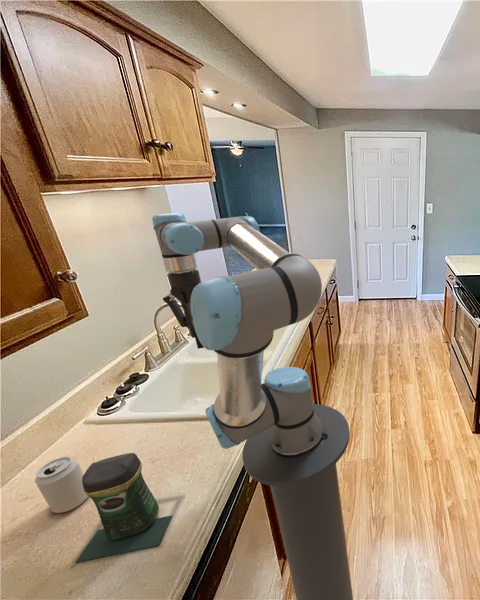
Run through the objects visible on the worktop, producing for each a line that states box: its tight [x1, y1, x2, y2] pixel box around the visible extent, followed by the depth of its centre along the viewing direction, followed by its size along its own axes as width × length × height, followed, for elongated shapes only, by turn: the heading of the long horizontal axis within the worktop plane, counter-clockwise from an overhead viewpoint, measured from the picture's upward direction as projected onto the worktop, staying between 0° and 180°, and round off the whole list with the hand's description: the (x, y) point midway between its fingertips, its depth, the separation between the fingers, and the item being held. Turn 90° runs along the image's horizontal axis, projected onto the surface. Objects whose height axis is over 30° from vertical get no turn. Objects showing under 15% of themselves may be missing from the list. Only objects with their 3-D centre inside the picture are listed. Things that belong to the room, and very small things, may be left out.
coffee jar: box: [82, 452, 160, 540], centre depth 75 cm, size 10×8×19 cm
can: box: [34, 455, 89, 514], centre depth 81 cm, size 8×8×12 cm
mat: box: [75, 514, 174, 564], centre depth 77 cm, size 16×12×1 cm
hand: (202, 346), depth 99 cm, fingers closed
